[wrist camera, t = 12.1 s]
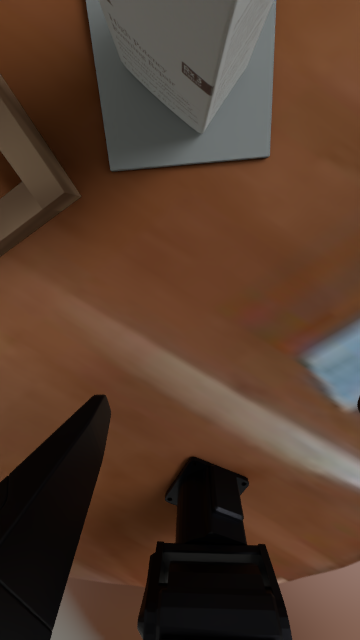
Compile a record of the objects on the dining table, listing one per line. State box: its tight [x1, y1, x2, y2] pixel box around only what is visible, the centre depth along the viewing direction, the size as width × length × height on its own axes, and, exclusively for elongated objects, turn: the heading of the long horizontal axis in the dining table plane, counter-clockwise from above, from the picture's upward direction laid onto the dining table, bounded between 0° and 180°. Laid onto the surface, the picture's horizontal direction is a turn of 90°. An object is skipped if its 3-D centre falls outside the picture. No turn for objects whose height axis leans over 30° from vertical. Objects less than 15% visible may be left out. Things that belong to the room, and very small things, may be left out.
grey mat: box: [86, 0, 276, 172], centre depth 15 cm, size 10×10×1 cm
